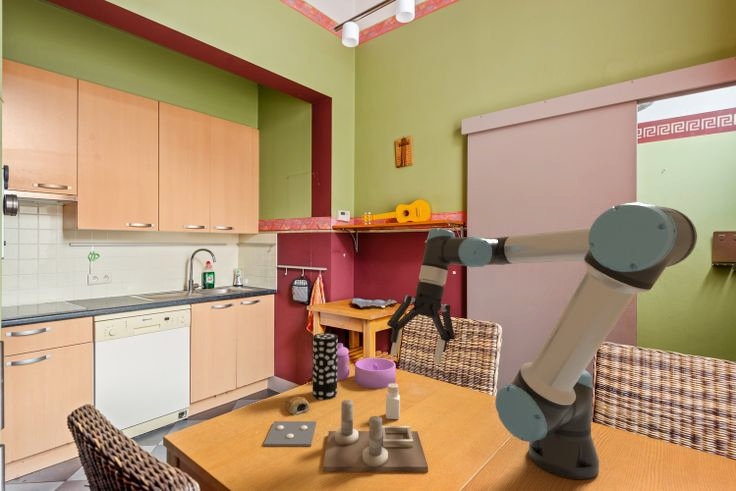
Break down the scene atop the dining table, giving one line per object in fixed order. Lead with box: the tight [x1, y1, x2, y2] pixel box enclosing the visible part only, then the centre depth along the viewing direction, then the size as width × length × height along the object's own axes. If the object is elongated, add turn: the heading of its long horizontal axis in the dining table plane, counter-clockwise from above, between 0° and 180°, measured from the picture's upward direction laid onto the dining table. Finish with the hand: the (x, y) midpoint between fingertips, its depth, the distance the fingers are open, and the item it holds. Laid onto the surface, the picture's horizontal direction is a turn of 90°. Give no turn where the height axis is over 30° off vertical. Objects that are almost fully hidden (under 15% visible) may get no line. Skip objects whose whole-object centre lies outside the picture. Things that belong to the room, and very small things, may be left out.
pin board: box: [322, 399, 429, 473], centre depth 94 cm, size 24×16×11 cm, turn 91°
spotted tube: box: [312, 332, 339, 401], centre depth 128 cm, size 8×8×20 cm
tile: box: [263, 420, 317, 447], centre depth 102 cm, size 12×12×1 cm
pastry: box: [285, 396, 311, 416], centre depth 118 cm, size 9×7×4 cm
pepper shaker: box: [385, 383, 401, 420], centre depth 113 cm, size 4×4×10 cm
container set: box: [337, 342, 397, 390], centre depth 143 cm, size 25×15×13 cm, turn 81°
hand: (415, 359), depth 104 cm, fingers open, 13 cm apart
